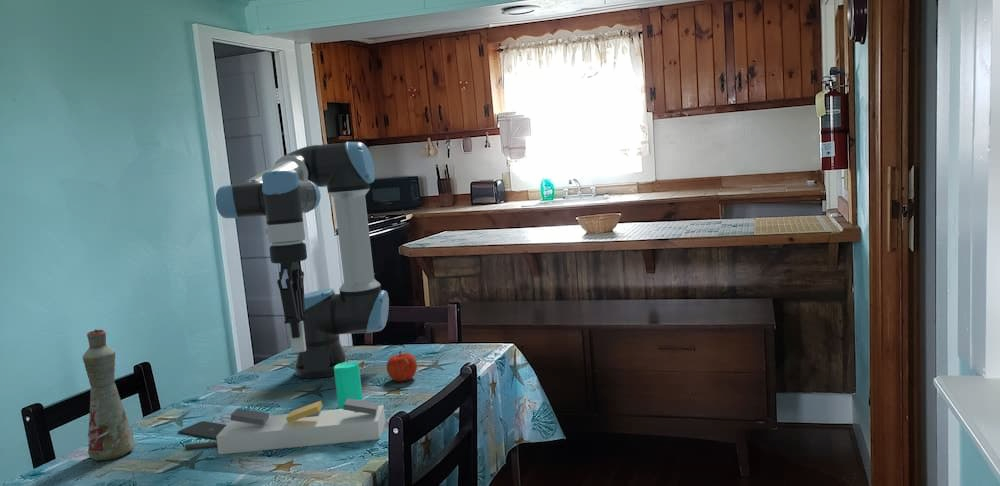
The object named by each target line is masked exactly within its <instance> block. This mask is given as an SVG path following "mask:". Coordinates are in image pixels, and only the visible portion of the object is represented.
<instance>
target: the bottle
mask: <svg viewBox="0 0 1000 486" xmlns="http://www.w3.org/2000/svg"><path fill="white" fill-rule="evenodd" d="M86 336H87V340H88V345H89V347H88V348H87V350H86V351H85V352H84V354H82V361H83V364H84V368H85V371H86V375H87V378H88V382H89V386H90V396H89V398H90V399H89V420H88V432H87V438H88V449H87V454H88V456H89V458H91V460H94V461H109V460H110V461H111V460H115V459H118V458H120V457H123V456H125V455H127V454H128V453H129V452H131V451H133V449H134V448H135V447H136V442H135V439H134V435H133V432H132V429H131V425H130V423H129V419H128V417H127V414H126V411H125V408H124V405H123V403H122V400H121V397H120V394H119V391H118V388H117V385H116V383H115V379H116V375H115V373H116V372H115V371H116V369H115V366H116V360H115V359H116V351H115V350H114V349H113V348H112V347H110V346H109V345H108V344H107V343H106V342H107V338H106V337H107V334H106V331H105V330H104V329H97V328H95V329H94V330H92V331H89V332H87V334H86Z"/></svg>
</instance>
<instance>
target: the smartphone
mask: <svg viewBox="0 0 1000 486" xmlns="http://www.w3.org/2000/svg"><path fill="white" fill-rule="evenodd" d="M226 425H227V424H226V423H225V424H224V423H219V422H211V421H203V420H202V421H198V422H196V423H194V424H192V425H188V426H187V427H185V428H182V429H180V430H178V431H177V434H178V435H183V436H188V437H196V438H200V439H201V438H202V439H206V440H211V441H217V438H216V436H217V435H218V434H219V433H220V432H221V431H222V430H223V428H224V427H225V426H226Z"/></svg>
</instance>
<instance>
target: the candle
mask: <svg viewBox="0 0 1000 486" xmlns="http://www.w3.org/2000/svg"><path fill="white" fill-rule="evenodd" d="M345 361H346V359H345ZM334 374H335V375H334V382H335V390H336V399H337V407H338V408H337V409H343V408H344V403H345V402H346V400H347V398H350V399H356V400H362V401H364V398H363V388H362V381H361V380H362V379H361V371H360V365H359V362H357V361H353V362H351V361H348V362H343V363H339V364H337V365H335V367H334Z"/></svg>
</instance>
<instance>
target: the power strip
mask: <svg viewBox="0 0 1000 486" xmlns="http://www.w3.org/2000/svg"><path fill="white" fill-rule="evenodd" d="M288 415H289V413H286V414H285V413H283V414H282V413H281V414H273V415H269V419H268V420H267V421H266V423H265V424H264V425H257V424H251V423H244V422H238V421H232V420H230V421H229V422H228V423H227V424H225V425H226V426H225V427H224V428H223V430H222V431H221V432H220V433H219V434H218V435H217V436H216V438H217V440H215V441H207V442H197V443H187V444H185V445H184V449H186V450H189V449H191V450H192V449H201V448H203V449H204V448H211V447H212V448H213V447H217V451H218V455H226V454H237V453H247V452H249V453H250V452H258V451H260V452H261V451H268V450H269V451H270V450H279V449H280V450H282V449H291V448H299V447H300V448H301V447H311V446H320V445H331V444H333V445H334V444H343V443H353V442H362V441H363V442H364V441H375V440H380V439H381V437H382V434H383V431H384V428H385V424H386V416H385V415H386V414H385V407H384V404H379V406H378V410H377V413H376V415H374V414H367V413H361V412H355V411H349V410H343V409H338V408H336V409H328V410H327V409H326V410H320V411H319V412H317V413H315V414H312V415H309V416H306V417H304V418H301V419H298V420H295V421H292V422H290V423H288V422H287V419H286V417H287V416H288Z"/></svg>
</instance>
